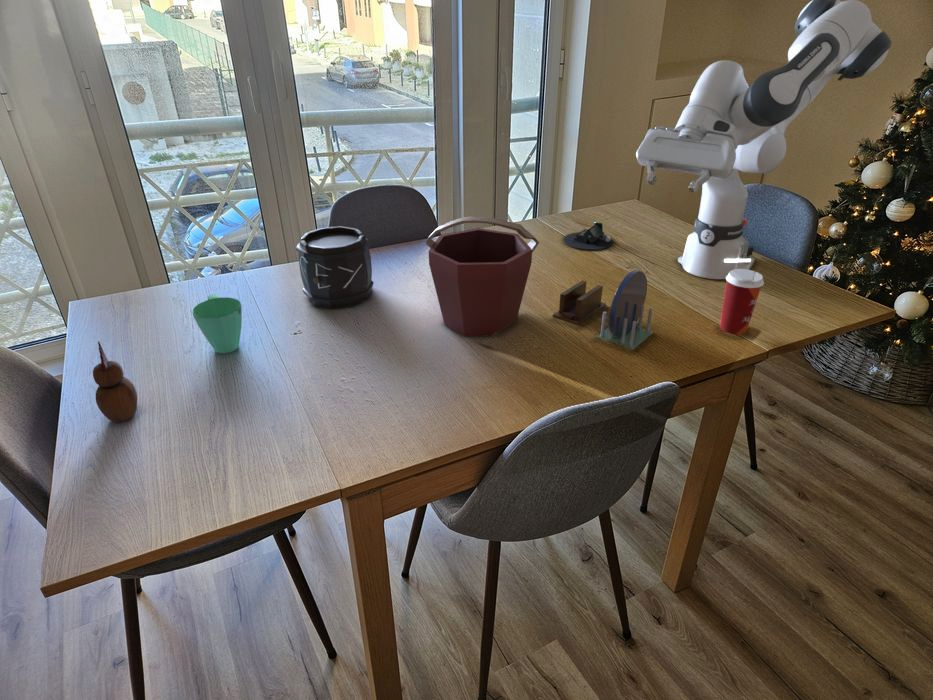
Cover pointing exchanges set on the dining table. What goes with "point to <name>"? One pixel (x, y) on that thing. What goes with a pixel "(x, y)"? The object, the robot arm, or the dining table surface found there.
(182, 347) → the dining table surface
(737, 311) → the paper cup
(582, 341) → the dining table surface
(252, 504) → the dining table surface
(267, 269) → the dining table surface
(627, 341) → the dish rack
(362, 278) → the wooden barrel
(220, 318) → the mug
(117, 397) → the wooden figurine
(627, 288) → the plate
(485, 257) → the bucket
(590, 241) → the dark blue round base
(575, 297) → the napkin holder
